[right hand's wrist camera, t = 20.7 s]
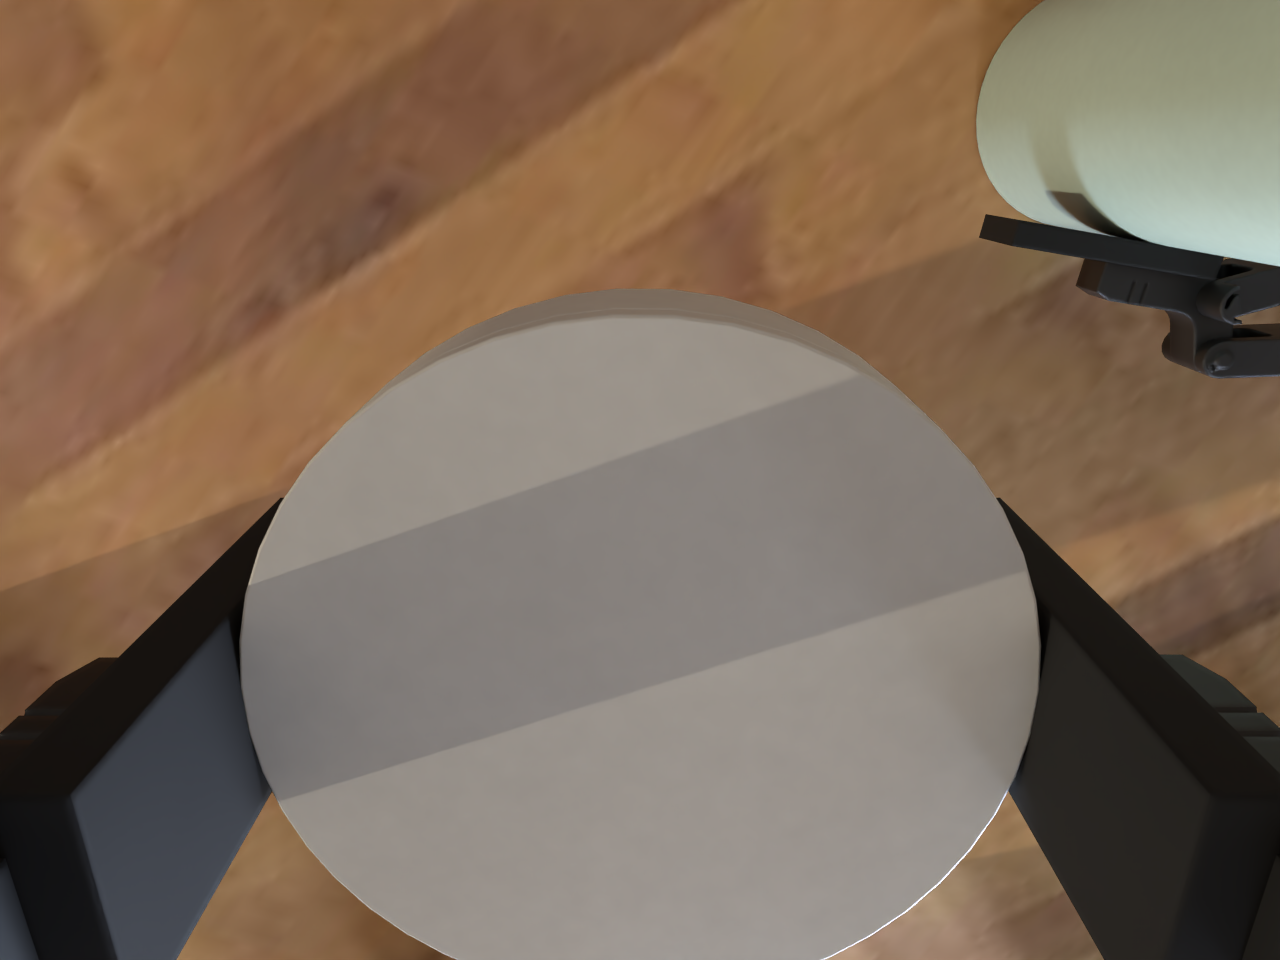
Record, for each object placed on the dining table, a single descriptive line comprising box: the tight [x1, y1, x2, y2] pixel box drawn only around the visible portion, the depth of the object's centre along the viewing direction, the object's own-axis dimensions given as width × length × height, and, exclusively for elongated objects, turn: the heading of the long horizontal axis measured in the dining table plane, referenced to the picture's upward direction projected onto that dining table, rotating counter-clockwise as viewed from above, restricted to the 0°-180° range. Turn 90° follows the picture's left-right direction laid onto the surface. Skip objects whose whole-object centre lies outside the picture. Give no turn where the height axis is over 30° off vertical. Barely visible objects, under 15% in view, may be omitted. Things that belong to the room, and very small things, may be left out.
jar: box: [976, 0, 1280, 266], centre depth 24 cm, size 8×8×18 cm
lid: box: [239, 289, 1041, 960], centre depth 11 cm, size 9×9×2 cm
